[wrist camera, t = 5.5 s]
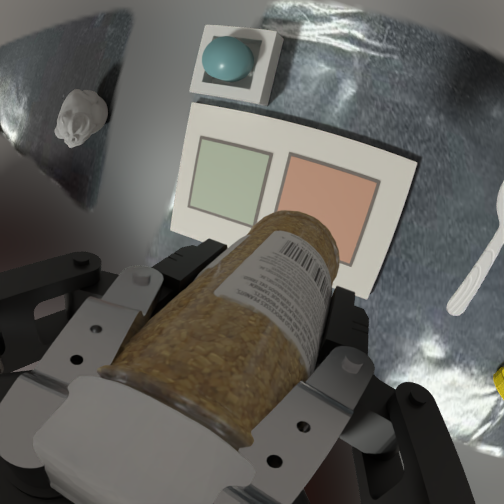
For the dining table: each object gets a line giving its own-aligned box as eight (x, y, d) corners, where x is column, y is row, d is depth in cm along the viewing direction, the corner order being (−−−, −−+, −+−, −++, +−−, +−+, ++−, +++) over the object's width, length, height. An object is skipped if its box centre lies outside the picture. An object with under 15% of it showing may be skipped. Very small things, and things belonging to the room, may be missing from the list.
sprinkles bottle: (232, 226, 16) (-24, 419, 4) (322, 194, 14) (101, 491, 2) (267, 308, 17) (110, 550, 5) (354, 287, 15) (281, 608, 3)
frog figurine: (89, 148, 36) (48, 155, 30) (83, 98, 34) (42, 98, 28) (123, 136, 34) (80, 141, 28) (116, 82, 32) (74, 78, 26)
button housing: (283, 39, 25) (276, 31, 23) (267, 106, 28) (259, 103, 26) (217, 31, 27) (205, 24, 25) (202, 94, 30) (189, 91, 27)
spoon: (431, 302, 30) (432, 304, 29) (515, 149, 22) (517, 149, 21) (466, 322, 29) (467, 325, 28) (549, 179, 21) (551, 180, 21)
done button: (258, 44, 24) (250, 38, 22) (248, 85, 26) (239, 81, 24) (217, 40, 25) (207, 34, 23) (208, 79, 27) (197, 75, 25)
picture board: (415, 162, 26) (417, 162, 25) (367, 295, 31) (367, 299, 31) (195, 102, 30) (191, 102, 30) (174, 228, 36) (169, 230, 35)
